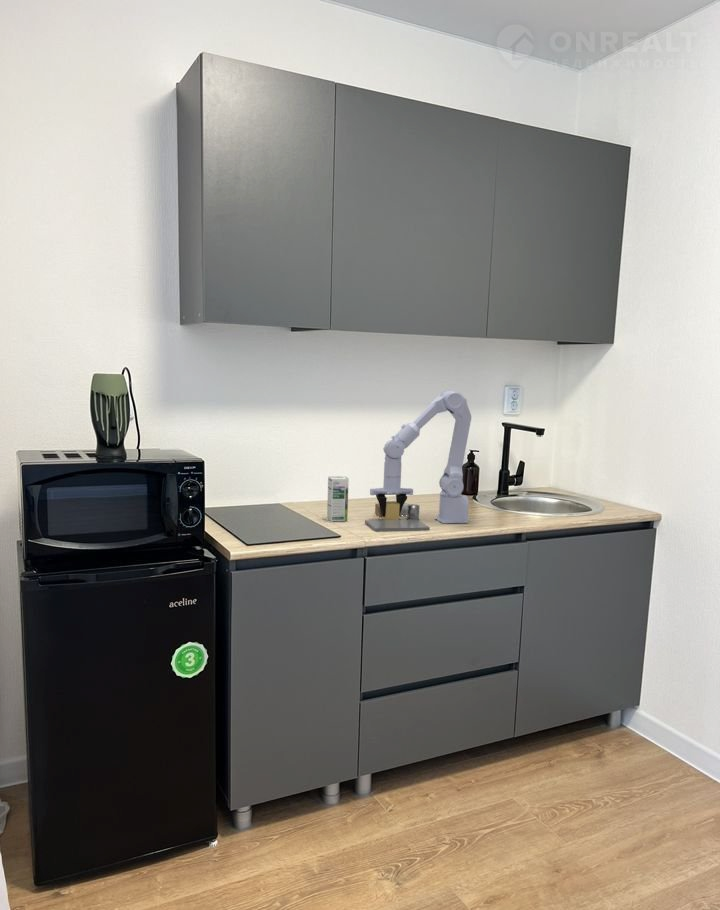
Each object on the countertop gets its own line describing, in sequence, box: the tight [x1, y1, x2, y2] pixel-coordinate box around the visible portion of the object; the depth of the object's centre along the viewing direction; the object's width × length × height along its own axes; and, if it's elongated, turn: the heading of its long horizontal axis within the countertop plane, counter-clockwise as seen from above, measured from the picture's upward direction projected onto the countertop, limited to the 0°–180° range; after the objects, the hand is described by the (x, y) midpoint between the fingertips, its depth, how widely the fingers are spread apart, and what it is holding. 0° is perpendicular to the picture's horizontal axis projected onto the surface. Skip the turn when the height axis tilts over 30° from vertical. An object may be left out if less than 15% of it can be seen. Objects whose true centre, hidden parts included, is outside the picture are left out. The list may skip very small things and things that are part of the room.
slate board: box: [364, 519, 431, 533], centre depth 225 cm, size 18×12×1 cm, turn 105°
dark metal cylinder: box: [406, 503, 420, 521], centre depth 237 cm, size 4×4×5 cm
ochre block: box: [381, 500, 400, 520], centre depth 235 cm, size 4×4×6 cm
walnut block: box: [374, 502, 382, 518], centre depth 242 cm, size 5×5×4 cm
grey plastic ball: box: [400, 502, 410, 516], centre depth 244 cm, size 4×4×4 cm
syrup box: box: [326, 475, 350, 522], centre depth 232 cm, size 6×6×14 cm
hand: (390, 516), depth 235 cm, fingers closed on ochre block, 4 cm apart
